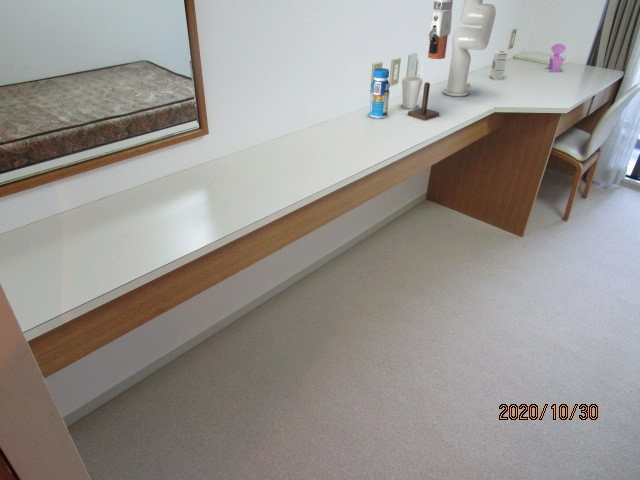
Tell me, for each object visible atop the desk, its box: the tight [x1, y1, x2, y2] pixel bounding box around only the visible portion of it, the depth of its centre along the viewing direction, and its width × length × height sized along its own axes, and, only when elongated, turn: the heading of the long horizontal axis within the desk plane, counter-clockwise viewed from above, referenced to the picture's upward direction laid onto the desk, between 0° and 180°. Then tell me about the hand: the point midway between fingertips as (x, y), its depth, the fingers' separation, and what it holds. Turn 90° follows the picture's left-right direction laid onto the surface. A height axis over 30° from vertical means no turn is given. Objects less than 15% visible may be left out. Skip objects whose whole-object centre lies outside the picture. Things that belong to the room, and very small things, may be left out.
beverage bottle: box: [369, 67, 391, 119], centre depth 200 cm, size 8×8×20 cm
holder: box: [407, 82, 440, 121], centre depth 201 cm, size 10×10×15 cm
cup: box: [427, 35, 449, 60], centre depth 194 cm, size 7×7×9 cm
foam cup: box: [401, 75, 423, 109], centre depth 213 cm, size 10×9×13 cm
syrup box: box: [489, 50, 508, 80], centre depth 260 cm, size 6×6×14 cm
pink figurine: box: [546, 43, 567, 73], centre depth 276 cm, size 8×9×15 cm
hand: (437, 51), depth 195 cm, fingers closed on cup, 7 cm apart
